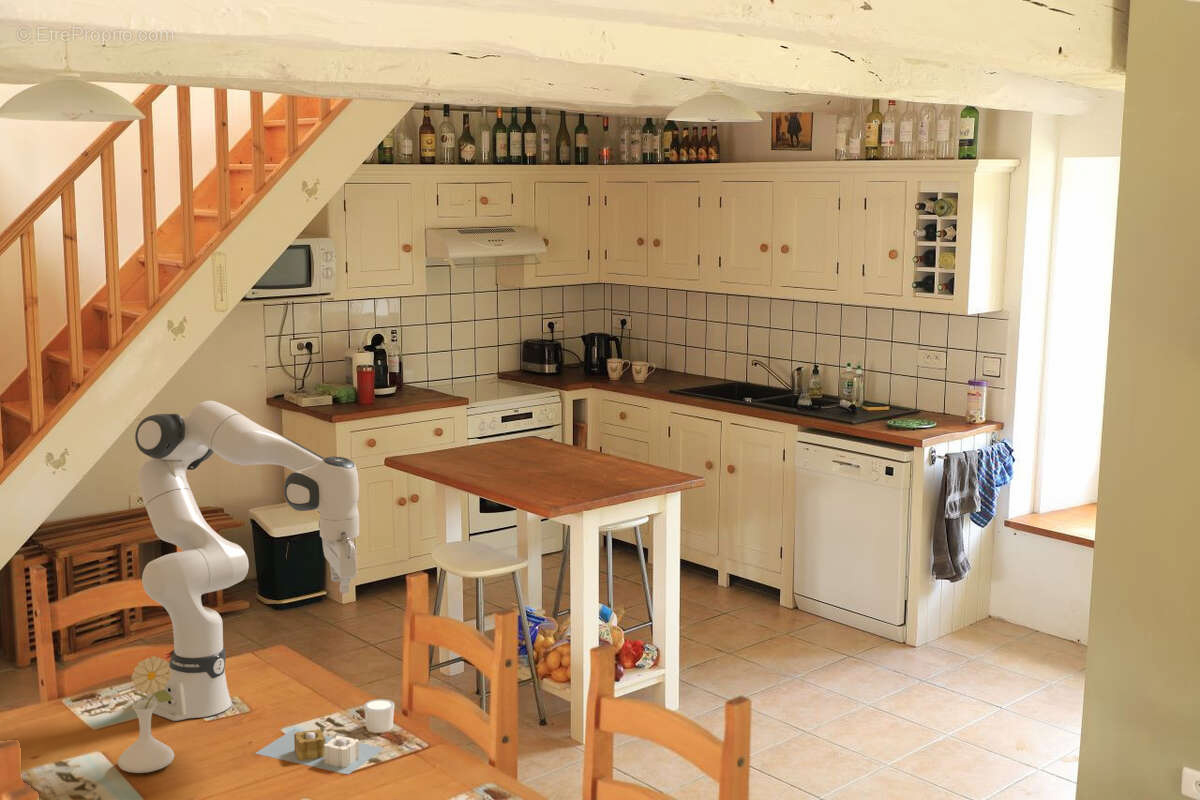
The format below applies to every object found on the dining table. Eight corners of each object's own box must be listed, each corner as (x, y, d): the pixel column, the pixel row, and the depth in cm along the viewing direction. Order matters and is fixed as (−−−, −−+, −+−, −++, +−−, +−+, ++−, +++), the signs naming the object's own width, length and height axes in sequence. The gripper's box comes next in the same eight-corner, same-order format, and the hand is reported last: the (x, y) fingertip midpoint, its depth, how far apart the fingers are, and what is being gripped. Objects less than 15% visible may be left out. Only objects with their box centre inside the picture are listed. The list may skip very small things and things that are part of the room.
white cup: (388, 741, 270) (387, 711, 269) (359, 738, 271) (359, 708, 270) (399, 729, 277) (398, 700, 276) (371, 726, 278) (371, 697, 277)
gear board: (254, 759, 259) (254, 733, 258) (294, 735, 272) (293, 710, 271) (348, 781, 250) (348, 754, 249) (384, 754, 263) (384, 728, 262)
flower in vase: (105, 772, 252) (101, 659, 248) (143, 751, 262) (139, 642, 259) (156, 783, 247) (152, 668, 244) (192, 761, 258) (189, 650, 254)
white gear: (327, 770, 252) (327, 752, 251) (321, 756, 258) (321, 738, 258) (361, 764, 255) (361, 747, 254) (355, 751, 261) (355, 733, 261)
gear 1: (286, 756, 257) (285, 739, 257) (306, 743, 264) (305, 726, 264) (314, 763, 255) (313, 745, 254) (333, 749, 261) (333, 732, 261)
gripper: (363, 538, 264) (363, 598, 266) (344, 517, 283) (344, 573, 284) (334, 540, 261) (335, 601, 263) (317, 519, 280) (318, 576, 282)
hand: (340, 586), depth 274 cm, fingers open, 8 cm apart
